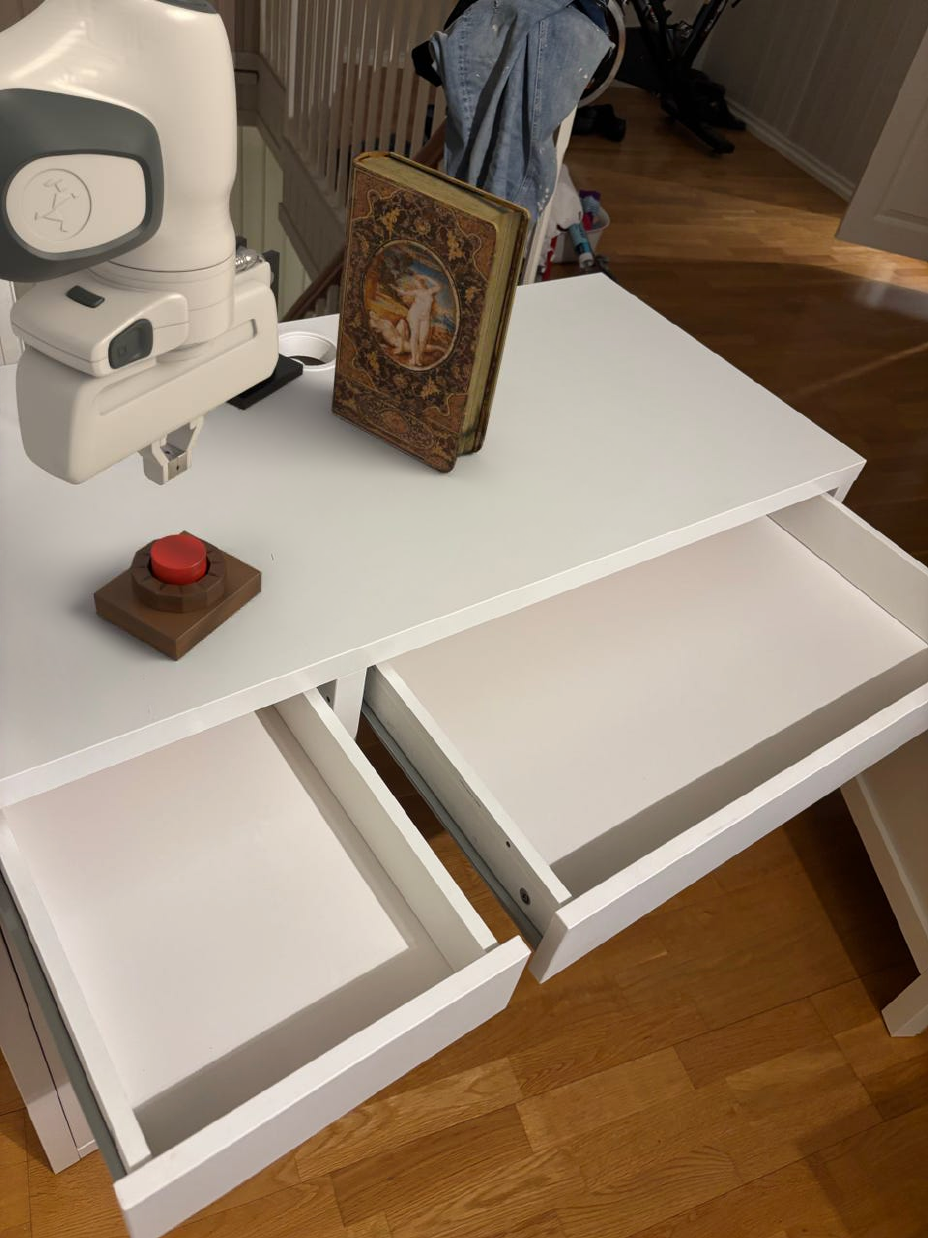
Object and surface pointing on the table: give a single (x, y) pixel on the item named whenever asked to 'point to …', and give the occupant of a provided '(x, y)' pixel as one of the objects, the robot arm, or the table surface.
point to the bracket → (285, 366)
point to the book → (424, 306)
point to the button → (178, 559)
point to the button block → (177, 600)
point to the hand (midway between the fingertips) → (168, 473)
